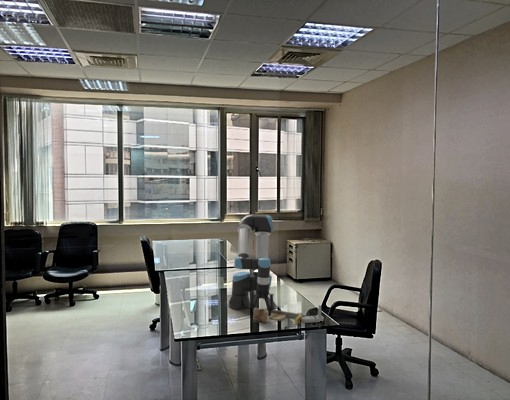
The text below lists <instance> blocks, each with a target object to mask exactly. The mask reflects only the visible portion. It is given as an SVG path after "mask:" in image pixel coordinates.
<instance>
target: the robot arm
mask: <svg viewBox="0 0 510 400" xmlns="http://www.w3.org/2000/svg"><path fill="white" fill-rule="evenodd" d="M237 232H238V245H237V246H238V247H237V256H235V257H234V266H233V268H234V269H236V270H250V271H251V270H253V271H252V274H251V273H250V272H249V271H238V272H235V273H234V274H233V275H232V281H231V282H232V285H231V296H230V298H229V301H228V307H229V308H230V309H234V310H238V311H239V310H249V309H250V308H252V311H251V313H252V314H254V310H256V309H257V308H258V307H257V305H258V303H259V301H260V300H261V299H262V300H263V301H265V304H266V307H267V310H268V311H267V322H266V323H268V322H269V321H270V319H269V316H271V311H273V310H275V304H274V301H275V300H274V295H275V294H274V293H270V289H271V285H272V277H273V276H272V275H270V273H271V265H272V264H271V259H270V257H269V241H270V240H269V238H270V236H271V234H272V232H274V222H273V217H272V216H271V215H267V214H247V215H245V216H244V217H242V218H241V220H239V222H238V226H237ZM252 232H254V235H255V236H256V239H255V240H256V242H255V243H256V244H255V257H250V244H251V243H250V241H251V240H250V237H251V236H250V235H251V233H252ZM250 293H251V298H250V296H249V295H250ZM256 295H257V296H256ZM255 298H256V299H255ZM252 318H253V320H254V316H253V317H252Z"/></svg>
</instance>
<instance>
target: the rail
mask: <svg viewBox="0 0 510 400" xmlns="http://www.w3.org/2000/svg"><path fill="white" fill-rule="evenodd" d="M271 313H276V314H282V315H286V317H285V318H290V319H294V325H299V324H300V322H301V317H303V314H302V313H298V312H297V313H296V312H291V311H284V310H279V309H274V310H273V311H271Z"/></svg>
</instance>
